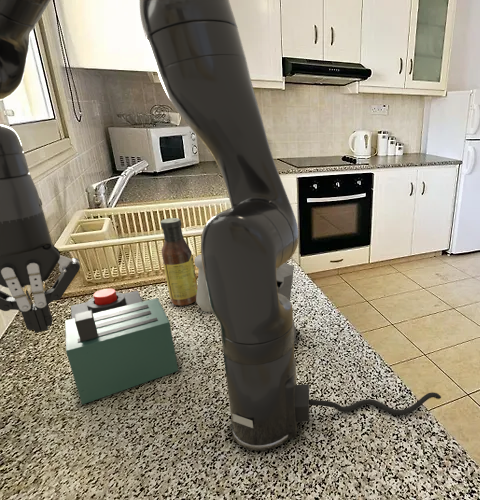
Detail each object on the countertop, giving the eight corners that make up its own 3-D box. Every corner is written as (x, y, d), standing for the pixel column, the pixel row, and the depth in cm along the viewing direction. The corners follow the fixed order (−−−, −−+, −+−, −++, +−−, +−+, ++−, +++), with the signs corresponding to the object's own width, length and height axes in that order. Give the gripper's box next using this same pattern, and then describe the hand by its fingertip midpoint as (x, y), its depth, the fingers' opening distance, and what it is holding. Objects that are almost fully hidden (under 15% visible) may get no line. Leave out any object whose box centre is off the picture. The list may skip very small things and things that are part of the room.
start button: (116, 295, 83) (114, 286, 82) (118, 302, 80) (116, 294, 79) (94, 299, 81) (92, 291, 80) (96, 307, 78) (93, 299, 77)
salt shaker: (215, 315, 82) (208, 261, 78) (192, 312, 84) (184, 259, 79) (228, 303, 88) (223, 252, 83) (206, 300, 89) (200, 249, 84)
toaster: (166, 342, 73) (157, 297, 69) (178, 370, 65) (169, 321, 62) (79, 369, 65) (64, 319, 62) (82, 404, 58) (65, 350, 54)
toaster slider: (96, 329, 59) (91, 309, 57) (98, 337, 57) (92, 317, 55) (80, 333, 57) (74, 314, 56) (80, 342, 55) (74, 321, 54)
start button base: (139, 298, 89) (136, 283, 88) (146, 317, 81) (143, 300, 80) (73, 314, 82) (68, 298, 80) (74, 336, 74) (69, 318, 73)
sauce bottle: (204, 298, 90) (194, 219, 82) (181, 309, 85) (168, 226, 77) (187, 291, 93) (175, 214, 86) (164, 301, 88) (149, 221, 81)
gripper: (-81, 228, 40) (-26, 359, 47) (69, 211, 48) (99, 327, 54) (-64, 212, 46) (-17, 331, 52) (68, 199, 53) (95, 305, 60)
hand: (42, 329), depth 53 cm, fingers closed
